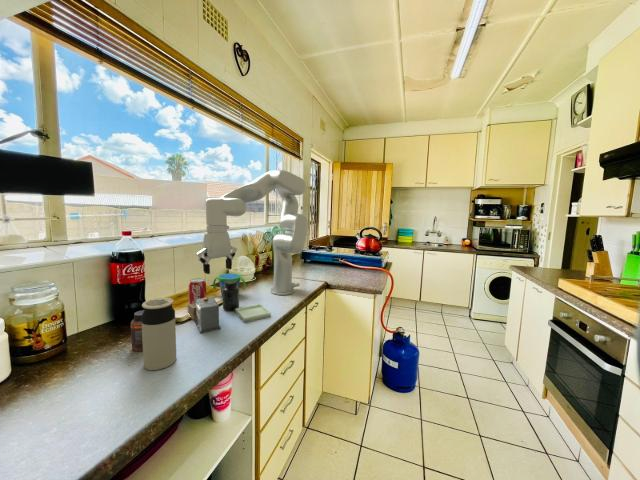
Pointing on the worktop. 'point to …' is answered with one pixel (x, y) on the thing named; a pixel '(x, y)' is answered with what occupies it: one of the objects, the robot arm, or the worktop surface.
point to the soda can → (196, 290)
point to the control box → (207, 314)
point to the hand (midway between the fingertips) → (218, 270)
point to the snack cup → (228, 277)
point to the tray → (252, 313)
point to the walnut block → (192, 311)
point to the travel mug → (158, 333)
